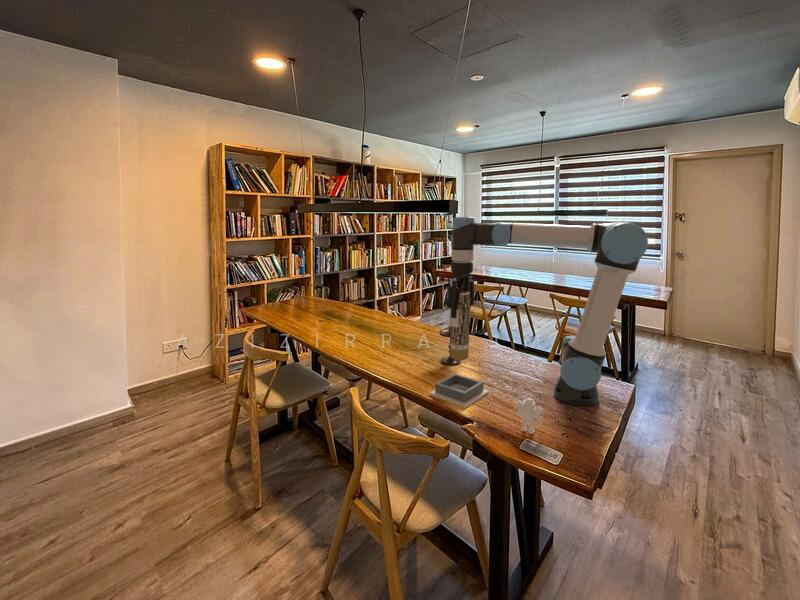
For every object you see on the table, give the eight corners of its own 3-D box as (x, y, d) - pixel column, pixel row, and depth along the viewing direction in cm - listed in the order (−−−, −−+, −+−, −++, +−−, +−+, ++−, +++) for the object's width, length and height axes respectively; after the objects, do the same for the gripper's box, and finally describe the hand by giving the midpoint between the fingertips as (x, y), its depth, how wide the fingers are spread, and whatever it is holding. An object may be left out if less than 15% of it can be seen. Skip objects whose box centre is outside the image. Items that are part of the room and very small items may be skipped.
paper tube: (455, 353, 152) (456, 289, 147) (471, 356, 148) (473, 291, 143) (446, 358, 146) (447, 292, 141) (462, 362, 142) (464, 294, 137)
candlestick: (442, 356, 190) (443, 285, 183) (464, 359, 186) (466, 286, 179) (436, 364, 180) (437, 289, 173) (460, 367, 176) (461, 290, 169)
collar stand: (488, 393, 150) (489, 382, 149) (465, 408, 139) (465, 396, 138) (453, 381, 161) (454, 371, 160) (429, 394, 149) (429, 383, 148)
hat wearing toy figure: (511, 428, 125) (513, 393, 123) (517, 423, 128) (519, 389, 126) (539, 438, 119) (542, 402, 117) (544, 433, 122) (547, 397, 120)
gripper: (468, 258, 149) (466, 317, 154) (437, 263, 135) (436, 328, 140) (485, 259, 144) (483, 320, 149) (455, 264, 130) (453, 332, 135)
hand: (460, 324), depth 144 cm, fingers closed on paper tube, 7 cm apart
